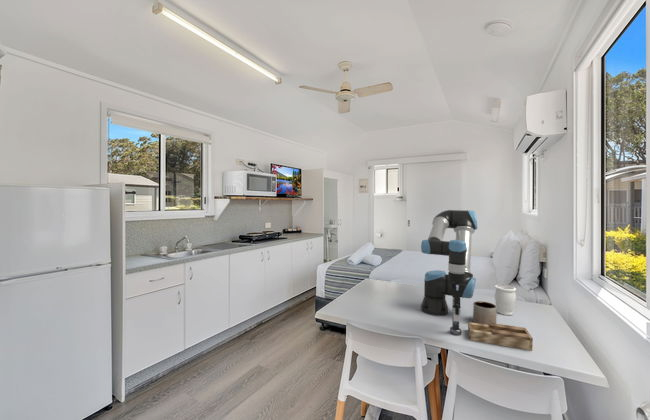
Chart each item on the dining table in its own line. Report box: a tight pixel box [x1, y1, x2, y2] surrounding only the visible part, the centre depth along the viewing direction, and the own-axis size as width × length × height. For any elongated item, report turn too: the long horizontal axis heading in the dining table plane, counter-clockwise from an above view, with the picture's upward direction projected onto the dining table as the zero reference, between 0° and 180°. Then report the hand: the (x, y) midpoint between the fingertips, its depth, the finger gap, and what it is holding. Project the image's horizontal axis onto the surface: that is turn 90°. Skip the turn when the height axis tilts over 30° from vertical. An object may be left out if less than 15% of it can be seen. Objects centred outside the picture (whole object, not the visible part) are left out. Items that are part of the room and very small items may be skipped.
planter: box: [472, 300, 497, 325], centre depth 151 cm, size 11×11×10 cm
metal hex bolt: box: [449, 299, 462, 337], centre depth 138 cm, size 5×5×16 cm
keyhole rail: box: [467, 321, 534, 351], centre depth 132 cm, size 24×11×5 cm, turn 68°
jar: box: [494, 284, 517, 316], centre depth 165 cm, size 11×10×15 cm
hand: (455, 316), depth 138 cm, fingers open, 12 cm apart
